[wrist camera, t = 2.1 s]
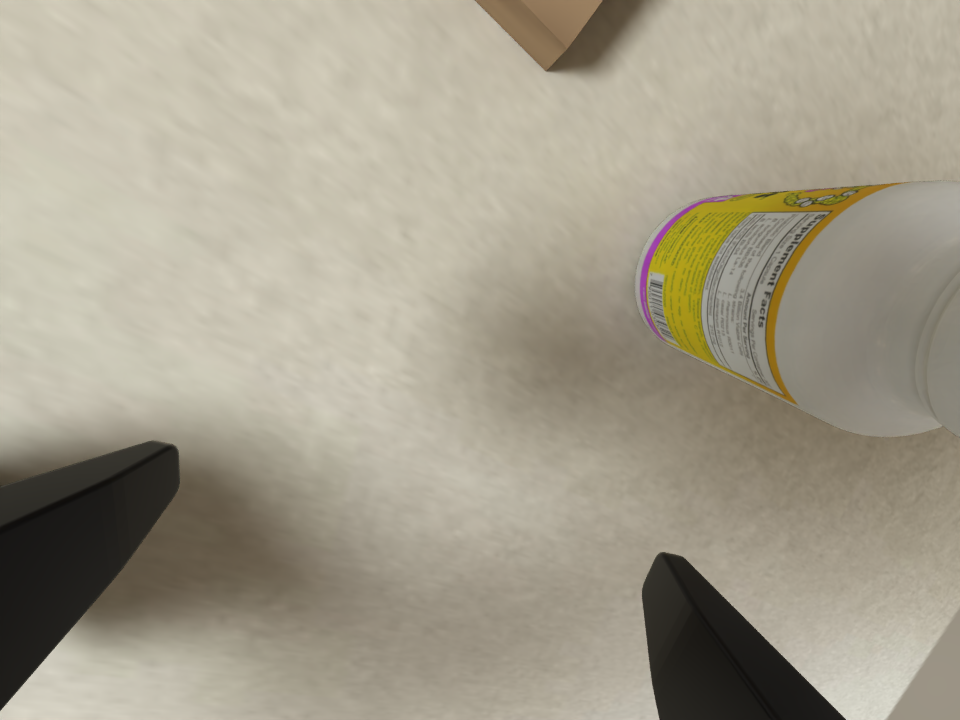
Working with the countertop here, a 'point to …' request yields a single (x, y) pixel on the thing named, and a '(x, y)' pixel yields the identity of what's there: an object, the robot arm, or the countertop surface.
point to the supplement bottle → (819, 299)
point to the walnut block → (542, 24)
